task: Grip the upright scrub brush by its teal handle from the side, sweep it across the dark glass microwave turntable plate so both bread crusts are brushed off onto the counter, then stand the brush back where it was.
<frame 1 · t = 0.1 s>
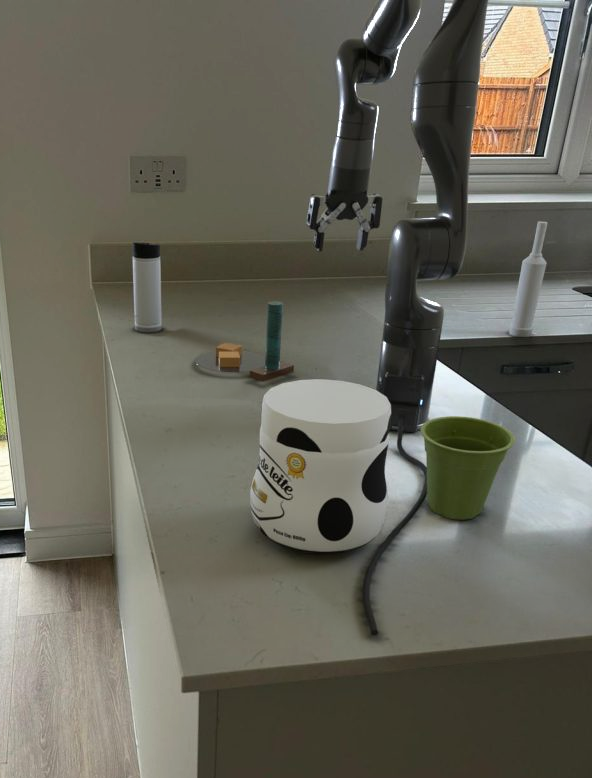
hand: (339, 249, 155), 22 cm above the worktop, tool pointing down, fingers open, 8 cm apart
crust a: (229, 364, 159), point 1 cm above the worktop, touching turntable plate
brush: (271, 379, 154), on the worktop
crust b: (228, 355, 163), point 1 cm above the worktop, touching turntable plate
bottle: (519, 335, 184), on the worktop
travel mug: (147, 330, 185), on the worktop
milk container: (315, 532, 102), on the worktop
turntable plate: (230, 365, 161), on the worktop
plant pot: (453, 510, 108), on the worktop
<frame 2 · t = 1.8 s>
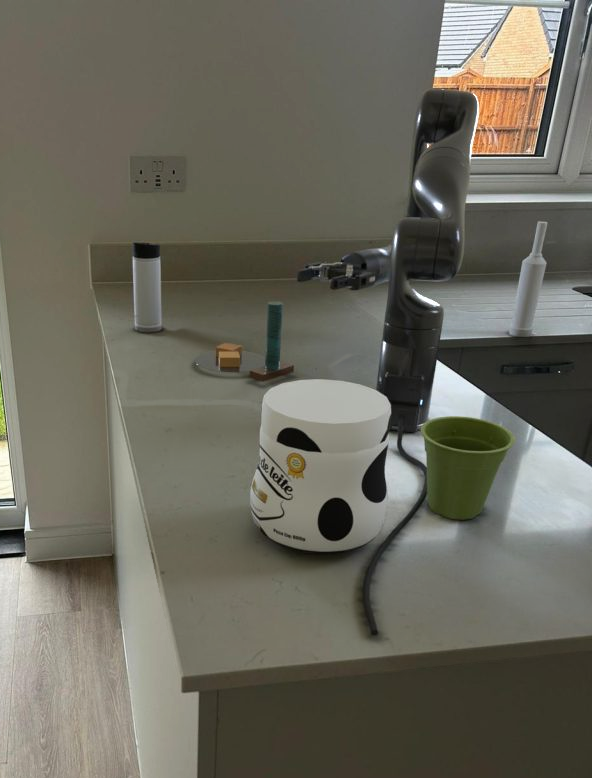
hand: (315, 280, 152), 18 cm above the worktop, tool horizontal, fingers open, 8 cm apart
nothing on the worktop moved.
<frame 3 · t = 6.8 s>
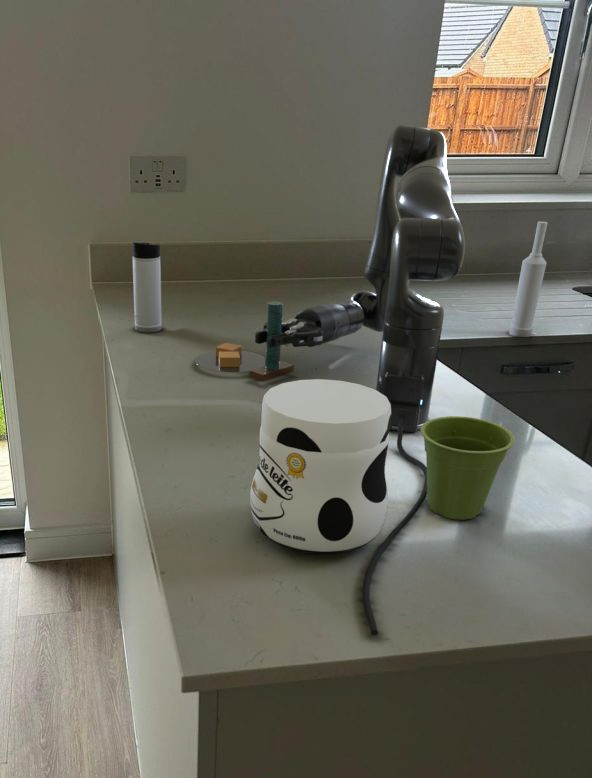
hand: (263, 340, 148), 8 cm above the worktop, tool horizontal, fingers closed on brush, 3 cm apart
brush: (271, 379, 154), on the worktop, touching gripper
everything else where it was.
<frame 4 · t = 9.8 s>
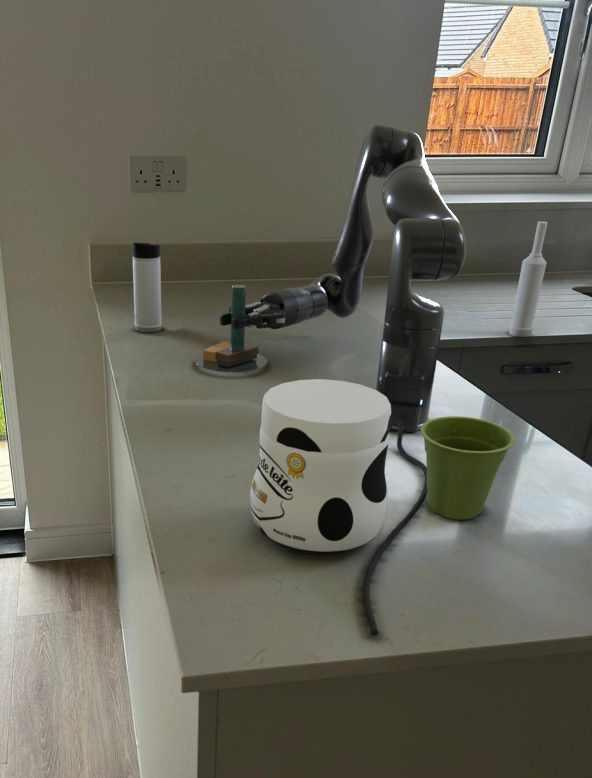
hand: (227, 322, 154), 10 cm above the worktop, tool horizontal, fingers closed on brush, 3 cm apart
crust a: (216, 358, 161), point 1 cm above the worktop
brush: (236, 360, 160), point 1 cm above the worktop, touching gripper
crust b: (227, 354, 164), point 1 cm above the worktop, touching turntable plate
everything else where it was.
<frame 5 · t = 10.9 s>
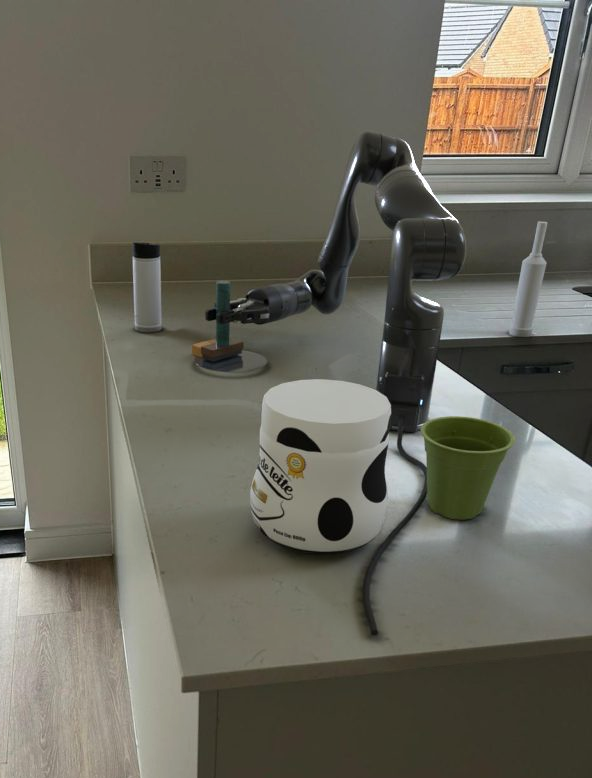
hand: (212, 317, 157), 10 cm above the worktop, tool horizontal, fingers closed on brush, 3 cm apart
crust a: (204, 354, 164), point 1 cm above the worktop, touching turntable plate
brush: (222, 355, 162), point 2 cm above the worktop, touching crust b, gripper
crust b: (219, 350, 167), point 1 cm above the worktop, touching brush
everything else where it was.
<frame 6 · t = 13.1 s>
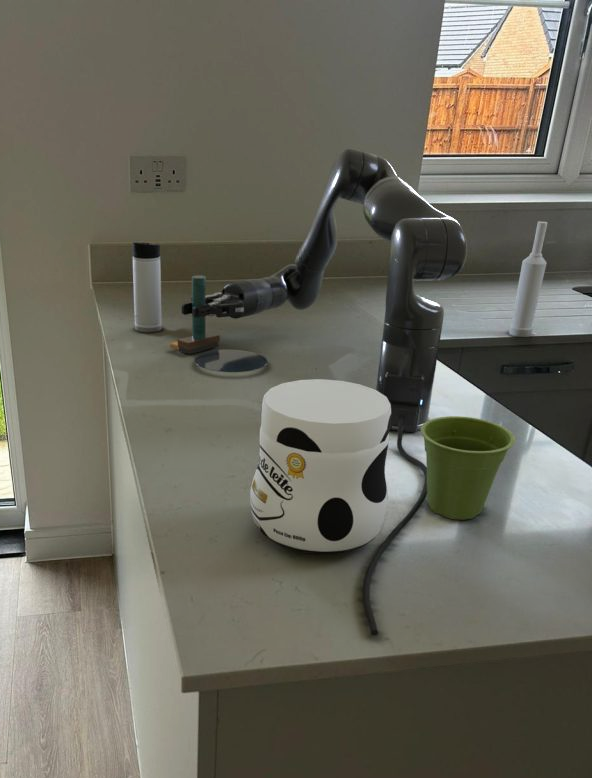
hand: (188, 311, 161), 10 cm above the worktop, tool horizontal, fingers closed on brush, 3 cm apart
crust a: (183, 352, 169), on the worktop
brush: (198, 348, 167), point 1 cm above the worktop, touching crust b, gripper
crust b: (197, 348, 172), on the worktop, touching brush
everything else where it was.
when the fingers open (9 cm above the worktop, at t = 19.9 s): brush stays where it is, on the worktop.
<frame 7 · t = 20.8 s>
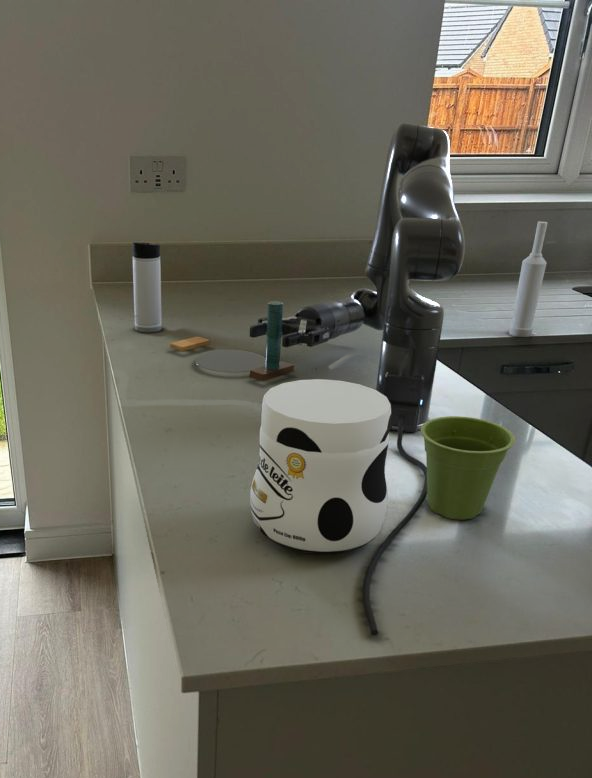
hand: (267, 336, 148), 9 cm above the worktop, tool horizontal, fingers open, 8 cm apart
brush: (271, 379, 154), on the worktop
crust b: (197, 348, 172), on the worktop
everything else where it was.
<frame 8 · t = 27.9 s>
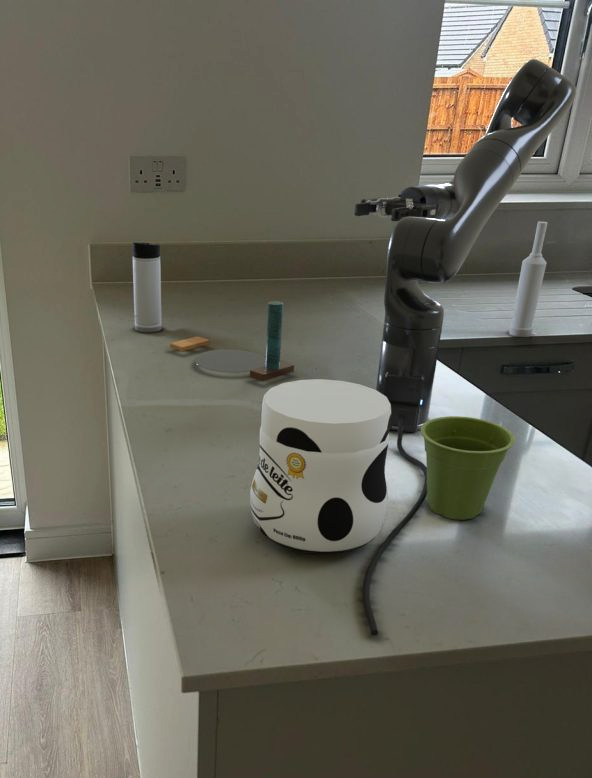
hand: (374, 212, 148), 30 cm above the worktop, tool horizontal, fingers open, 8 cm apart
nothing on the worktop moved.
at the end: crust a on the worktop; crust b on the worktop; brush 0.2 cm from the target spot, on the worktop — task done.
